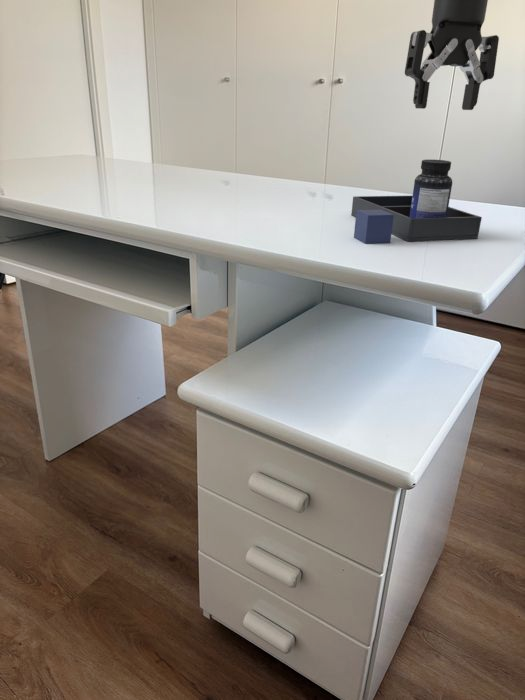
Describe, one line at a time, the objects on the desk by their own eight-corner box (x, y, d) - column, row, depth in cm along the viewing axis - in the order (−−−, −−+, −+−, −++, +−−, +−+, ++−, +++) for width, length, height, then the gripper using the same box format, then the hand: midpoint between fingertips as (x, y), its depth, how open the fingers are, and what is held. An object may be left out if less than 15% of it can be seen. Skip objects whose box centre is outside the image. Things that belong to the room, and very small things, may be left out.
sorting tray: (410, 213, 109) (413, 195, 107) (477, 238, 90) (482, 217, 88) (351, 215, 106) (352, 196, 104) (407, 241, 86) (410, 219, 85)
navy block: (377, 236, 89) (381, 209, 87) (390, 242, 85) (394, 214, 84) (353, 237, 88) (356, 210, 86) (365, 243, 84) (368, 215, 82)
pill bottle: (412, 222, 96) (422, 158, 92) (447, 227, 94) (459, 160, 89) (404, 228, 91) (413, 160, 87) (440, 233, 89) (452, 163, 84)
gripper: (433, -22, 73) (416, 108, 80) (521, -14, 77) (497, 110, 83) (406, -12, 79) (392, 108, 86) (488, -5, 83) (468, 109, 90)
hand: (444, 109), depth 85 cm, fingers open, 8 cm apart
